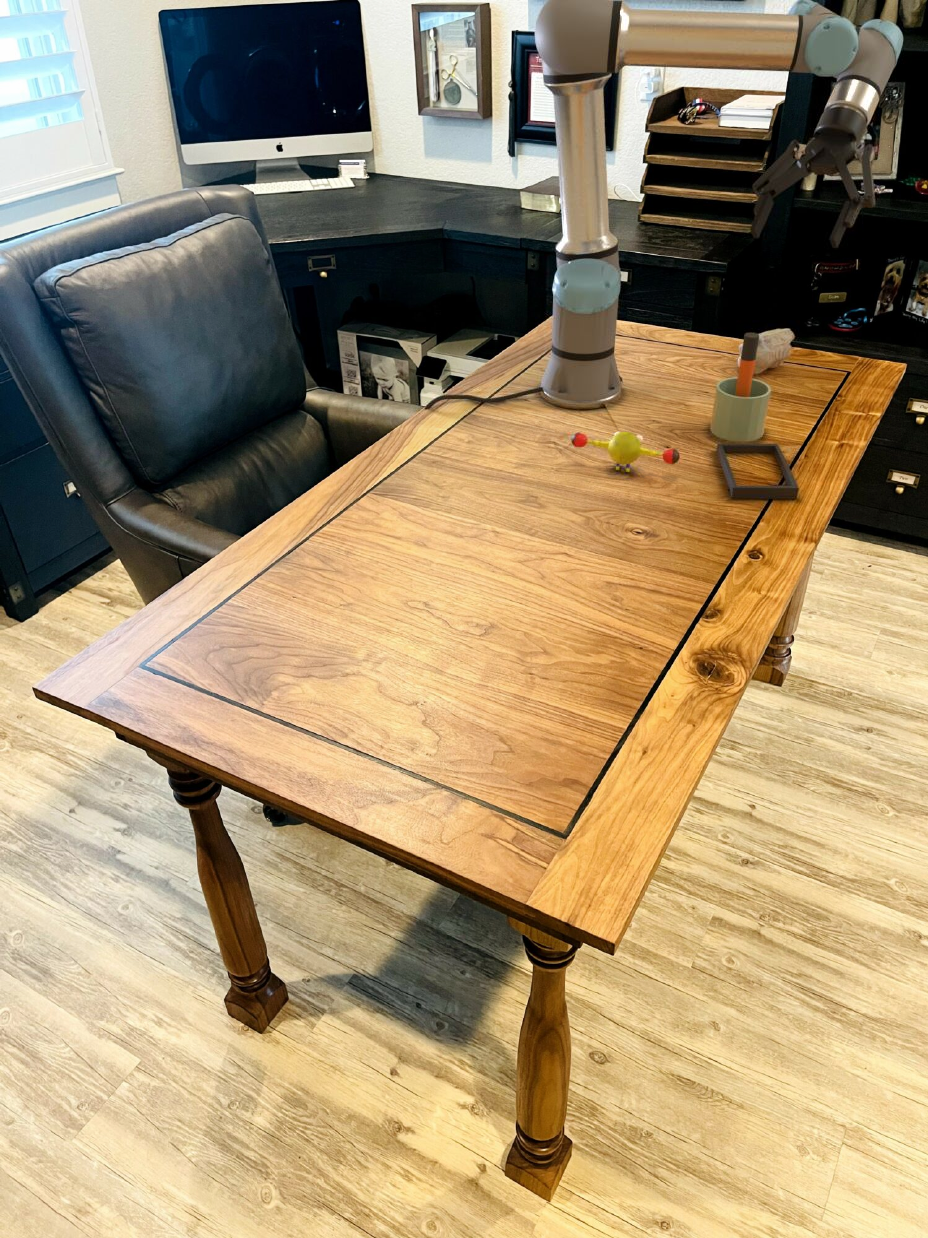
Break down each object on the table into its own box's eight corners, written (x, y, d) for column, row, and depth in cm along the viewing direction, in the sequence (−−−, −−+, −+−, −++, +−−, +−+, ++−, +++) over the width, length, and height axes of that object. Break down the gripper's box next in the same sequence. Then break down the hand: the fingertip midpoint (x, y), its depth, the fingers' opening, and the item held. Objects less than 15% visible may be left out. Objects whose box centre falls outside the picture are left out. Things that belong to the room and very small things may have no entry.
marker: (732, 433, 167) (747, 337, 157) (727, 427, 169) (742, 332, 159) (745, 432, 167) (761, 336, 157) (740, 426, 169) (756, 331, 159)
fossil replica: (725, 374, 190) (775, 388, 186) (734, 335, 184) (785, 348, 181) (744, 350, 197) (792, 362, 194) (753, 311, 192) (803, 323, 188)
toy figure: (681, 473, 157) (686, 435, 153) (672, 488, 153) (677, 449, 149) (576, 454, 163) (578, 417, 159) (565, 468, 159) (567, 430, 155)
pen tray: (796, 499, 149) (799, 487, 148) (731, 498, 150) (733, 487, 148) (775, 454, 161) (778, 443, 160) (715, 454, 162) (717, 443, 161)
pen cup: (719, 446, 164) (727, 400, 159) (702, 424, 171) (709, 378, 166) (770, 443, 165) (779, 396, 160) (751, 420, 172) (759, 375, 167)
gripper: (926, 138, 153) (872, 260, 153) (778, 129, 167) (729, 241, 167) (920, 106, 147) (864, 234, 147) (768, 100, 161) (716, 217, 161)
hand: (792, 238), depth 157 cm, fingers open, 13 cm apart
